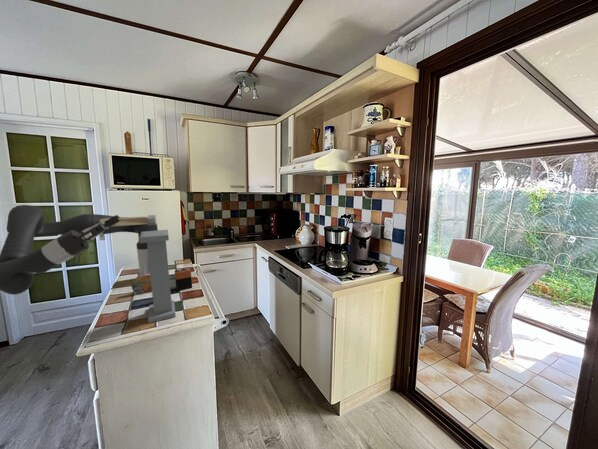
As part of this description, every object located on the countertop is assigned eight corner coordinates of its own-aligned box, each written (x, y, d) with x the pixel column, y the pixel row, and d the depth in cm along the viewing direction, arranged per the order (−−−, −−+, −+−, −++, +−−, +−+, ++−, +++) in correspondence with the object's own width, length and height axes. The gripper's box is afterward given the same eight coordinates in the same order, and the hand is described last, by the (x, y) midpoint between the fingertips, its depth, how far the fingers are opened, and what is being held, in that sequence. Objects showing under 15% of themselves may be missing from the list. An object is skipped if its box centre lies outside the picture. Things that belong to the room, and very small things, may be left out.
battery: (175, 287, 123) (174, 268, 121) (190, 284, 127) (189, 265, 125) (177, 291, 119) (175, 270, 118) (192, 287, 123) (190, 268, 121)
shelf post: (149, 308, 103) (141, 231, 97) (174, 303, 107) (167, 229, 102) (148, 323, 92) (139, 237, 87) (175, 316, 96) (168, 235, 91)
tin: (132, 295, 115) (130, 278, 113) (132, 293, 117) (130, 276, 116) (169, 288, 123) (167, 271, 121) (168, 286, 125) (167, 269, 124)
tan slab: (104, 224, 90) (103, 217, 90) (156, 221, 98) (155, 214, 97) (98, 229, 82) (97, 221, 81) (155, 224, 89) (154, 218, 89)
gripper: (80, 251, 90) (128, 223, 95) (68, 261, 78) (123, 229, 83) (64, 234, 87) (114, 207, 92) (48, 242, 75) (106, 210, 80)
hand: (118, 217), depth 88 cm, fingers closed on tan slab, 2 cm apart
